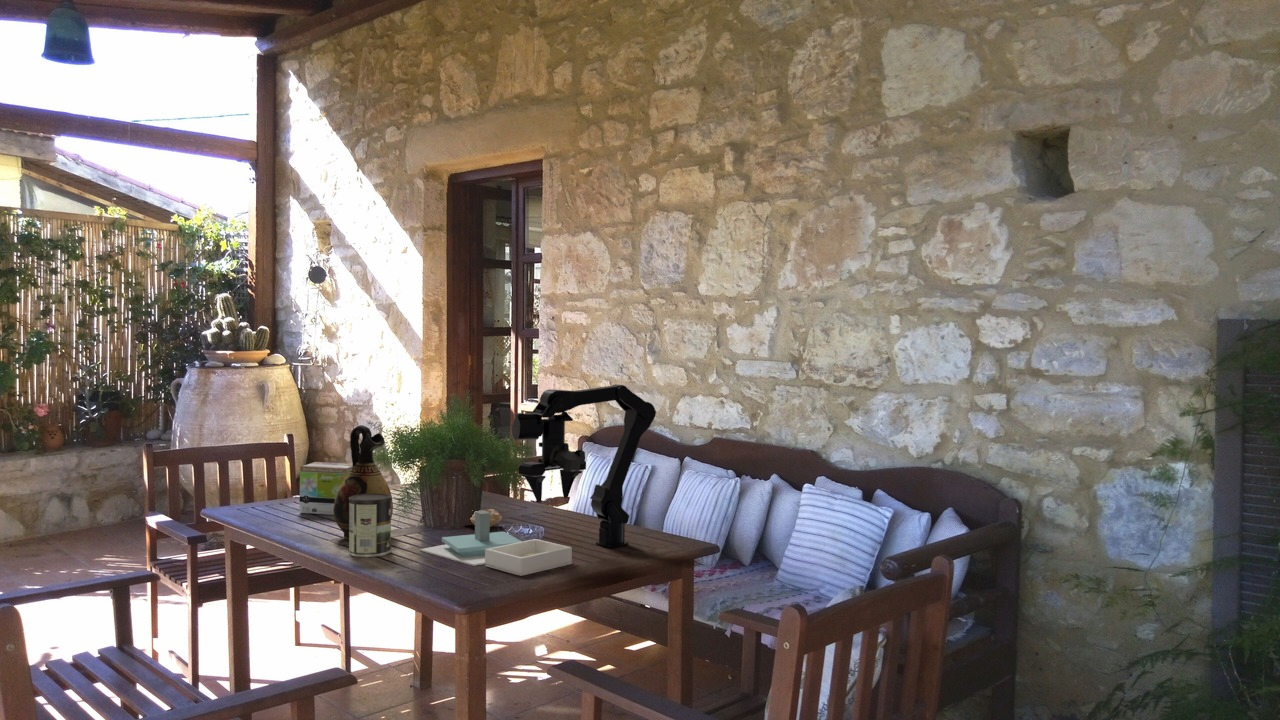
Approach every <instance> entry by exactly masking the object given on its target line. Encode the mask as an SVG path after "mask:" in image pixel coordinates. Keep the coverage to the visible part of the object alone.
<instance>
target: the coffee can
mask: <svg viewBox="0 0 1280 720" xmlns="http://www.w3.org/2000/svg"><path fill="white" fill-rule="evenodd" d="M391 495H392V494H391ZM391 495H388V494H360V495H354V496H351V497H349V540H348V546H349V548H348V555H349V556H352V557H355V558H376V557H382V556H386V555H389V554H390V553H392V518H391V499H392V500H393V495H392V496H391Z"/></svg>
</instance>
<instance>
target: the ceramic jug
mask: <svg viewBox="0 0 1280 720" xmlns="http://www.w3.org/2000/svg"><path fill="white" fill-rule="evenodd" d="M371 431H372V430H371V428H369V427H368V426H365V425H364V424H360V425H357V426H355V427H354V428H353V429H352V431H351V433H350V436H349V437H350V438H349V440H350V442H349V445H350V446H349V447H350V456H351V462H352V463H351V464H353V467H352V470H351V471H350V473H348V475H347V476H346V478H345V480H344V481H343V483H342V484H341V486H340V488H339V490H338V493H337V495H336V498H335V502H334V508H333V512H334V515H333V518H334V521H335V523H336V525H337V527H339V528H340V530H341V532H343V538H344V540H347V541H349V497H351V496H354V495H360V494H388V495H391V496H392V497H393V495H392V492H391V489H390V486H389V484H388V482H387V481H386V479H385V477H384V476H383V474H382V472H381V470H380V469H379V467H378V465H376V464H377V463H376V462H375V461H374V457H373V456H374V455H373V451H374V450H377V449H378V448H381V447H383V446H384V445H385V438H384V437H383V435H382V434H381V433H380V432H378V433H376V434H373V436H372V432H371ZM360 435H361V437H362V438H361V441H360V440H359V439H360ZM393 512H394V503H393V498H392V499H391V519H392V518H393Z"/></svg>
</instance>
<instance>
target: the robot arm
mask: <svg viewBox="0 0 1280 720" xmlns="http://www.w3.org/2000/svg"><path fill="white" fill-rule="evenodd" d="M611 401H612V402H613V401H615V402H616V403H617V405H618V407H620V408H621V409H622V410H623V411H624V418H623V425H624V426H623V428H624V429H623V434H622V436H621V439H620V441H619V444H618V447H617V450H616V451H615V455H614V457H613V460H612V463H611V465H610V468H609V471H608V474H607V476H606V478H605V480H604V481H603V482H602V484H601V485H600V484H595V486H594V489H593V493H592V494H591V496H590V497H589V498H590V499H591V502H590V506H591V509H592V511H593V513H595V515H596V517H597V519H598V520H601V521H600V522H599V528H598V531H599V532H598V541H595V545H599V546H603V547H607V548H611V549H612V548H618V547H621V546H626V545H627V546H628V545H629V544H630V542H628V541H625V538H626V537H625V536H626V535H625V534H626V533H625V530H626V529H625V525H626V524H628V522H629V520H630V519H629V518H630V515H629V513H628V512H627V511H625V510H624V508H623V507H622V506H623V505H622V504H623V501H624V492H623V491H624V490H623V487H624V483H625V481H626V479H627V475H628V473H629V471H630V467H631V464H632V462H633V459H634V456H635V454H636V451H637V448H638V446H639V444H640V440H641V437H642V436H643V435H644V434H645V433H646V431H648V429H649V428H650V427H651V425H652V423H653V422H654V420H655V418H656V414H657V410H656V408H655V406H654V405H653V404H652V403H651V402H649V401H645V399H643V398H642V397H640V396H639V395H637V394H636V393H634V392H632V390H630V389H629V388H628V387H627V386H626V385H624V384H612V385H608V386H601V387H594V388H593V387H592V388H587V389H585V388H584V389H579V390H564V389H552V388H551V389H546V390H544V391H543V392H542V393H541V395H540V398H539V402H538V403H537V404H536V406H535V408H534V409H533V411H532V412H531V413H522V412H516V413H515V416H514V417H515V418H514V419H513V422H512V424H511V425H512V426H511V433H512V438H513V439H514V441H535V440H538V439H540V437H542V439H541V442H538V448H539V447H540V448H541V457H540V458H538V462H535V461H525V462H520V464H519V465H518V471H517V472H518V473H517V474H518V475H522V478H525V480H526V481H527V483H528V485H529V487H530V489H531V491H532V493H533V496H534V497H535V499H536V500H535V501H536V502H537V503H541V502H542V498H543V482H544V480H545V479H546V477H547V476H546V475H544V474H545V473H546V471H555V470H559V473H560V474H559V475H560V482H561V483H560V484H561V488H562V489H561V491H562V495H563V498H564V499H568V497H569V495H570V492H571V490H572V486H573V483H574V481H575V479H576V478H577V477H578V476H579V475H580V474H583V471H585V470H587V462H586V452H585V451H584V450H583V449H577V450H573V451H571V450H570V448H569V447H570V446H569V443H568V442H565V437H566V435H565V434H566V431H565V430H566V422H573V421H574V418H573V417H571V416H570V415H569V413H568V411H570V410H572V409H574V408H576V407H579V406H583V405H584V406H585V405H591V404H592V405H593V404H598V403H600V404H601V403H606V402H611Z"/></svg>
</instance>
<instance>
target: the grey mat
mask: <svg viewBox="0 0 1280 720" xmlns="http://www.w3.org/2000/svg"><path fill="white" fill-rule="evenodd" d="M419 551H420V552H423V553H427V554H431V555H433V556H436V557H441V558H445V559H448V560H450V561H451V560H452V561H455V562H458V563H461V564H465V565H469V566H472V567H477V566H481V565H485V554H483V555H474V556H464V557H462V556H461V555H459V554H458V553H457V552H455V551H454V550H452V549H451V548H450V547H449V546H448V545H446V544H445V543H444V544H441V545H436V546H429V547H425V548H420V549H419Z"/></svg>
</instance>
